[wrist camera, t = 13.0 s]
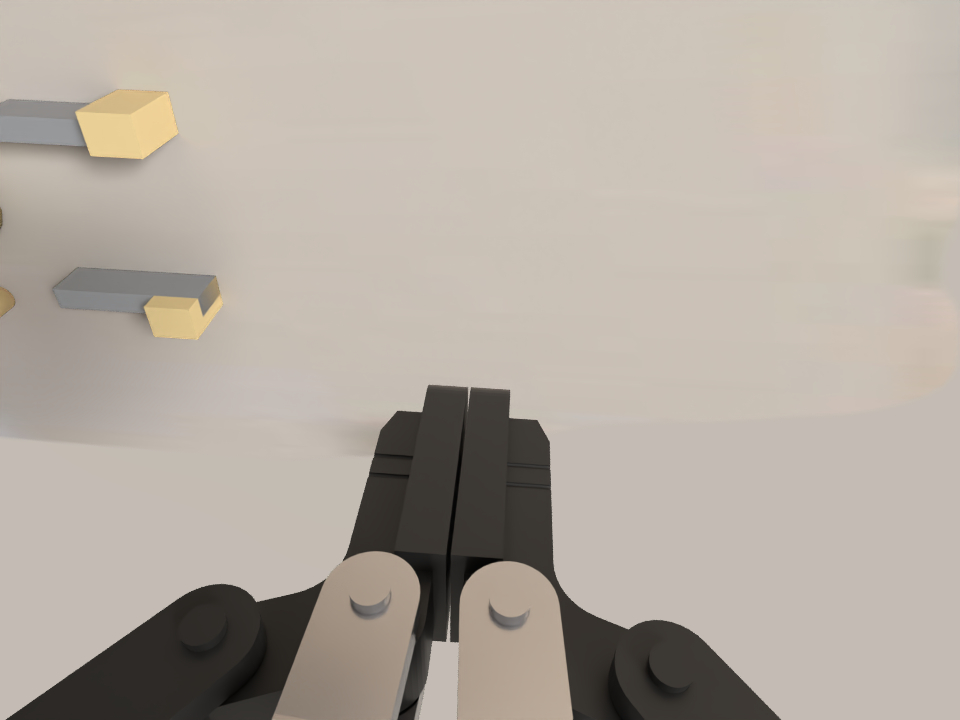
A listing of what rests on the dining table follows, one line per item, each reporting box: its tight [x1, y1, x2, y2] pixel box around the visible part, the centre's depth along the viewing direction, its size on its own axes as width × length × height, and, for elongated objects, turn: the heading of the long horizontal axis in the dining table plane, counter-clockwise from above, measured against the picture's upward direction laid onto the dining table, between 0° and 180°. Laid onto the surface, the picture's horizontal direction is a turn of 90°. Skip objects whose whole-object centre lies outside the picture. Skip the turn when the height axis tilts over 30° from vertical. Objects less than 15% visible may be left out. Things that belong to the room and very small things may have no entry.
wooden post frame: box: [0, 90, 223, 340], centre depth 39 cm, size 18×18×6 cm
